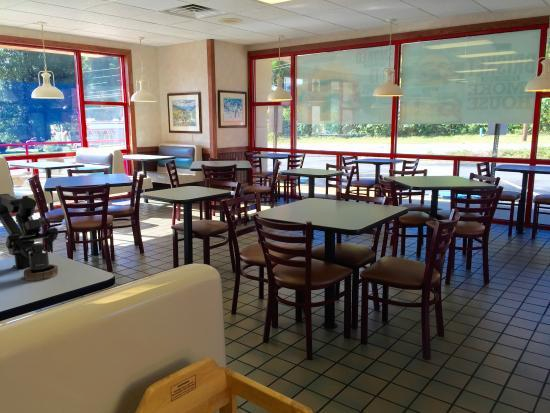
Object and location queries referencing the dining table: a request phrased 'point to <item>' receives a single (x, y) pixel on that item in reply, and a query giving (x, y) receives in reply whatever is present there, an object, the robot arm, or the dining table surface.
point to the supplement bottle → (39, 258)
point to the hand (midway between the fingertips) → (40, 254)
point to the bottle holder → (41, 274)
